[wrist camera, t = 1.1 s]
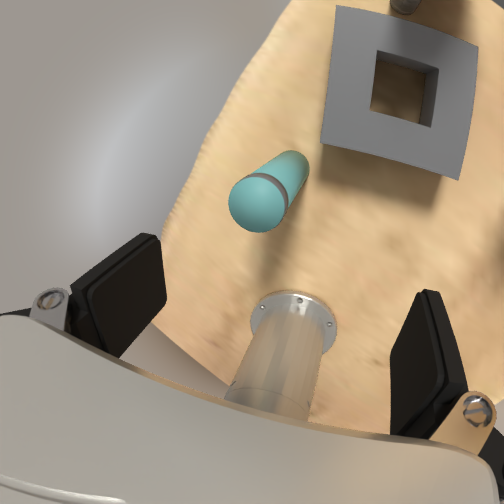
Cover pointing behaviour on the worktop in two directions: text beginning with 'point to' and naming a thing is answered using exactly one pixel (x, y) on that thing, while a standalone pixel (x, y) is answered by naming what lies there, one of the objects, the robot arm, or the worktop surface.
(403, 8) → the flask
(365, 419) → the worktop surface
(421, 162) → the socket block
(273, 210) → the peg
